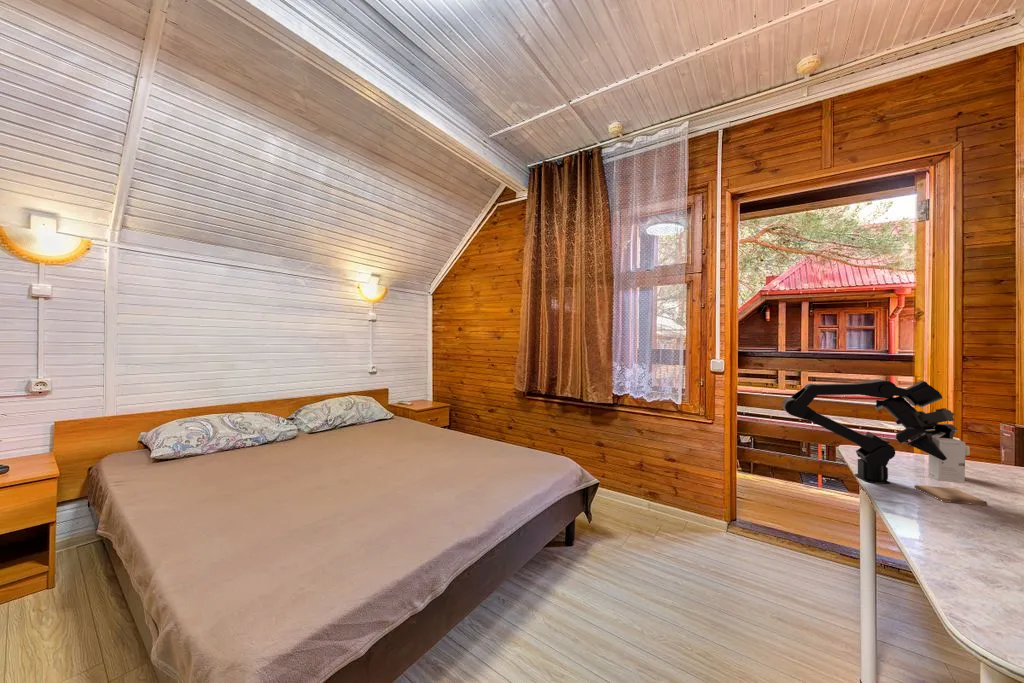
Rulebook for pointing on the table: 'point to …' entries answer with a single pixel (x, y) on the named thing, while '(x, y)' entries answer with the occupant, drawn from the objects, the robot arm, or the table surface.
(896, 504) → the table surface
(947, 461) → the skincare box
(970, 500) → the walnut coaster
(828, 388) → the robot arm
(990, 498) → the table surface
